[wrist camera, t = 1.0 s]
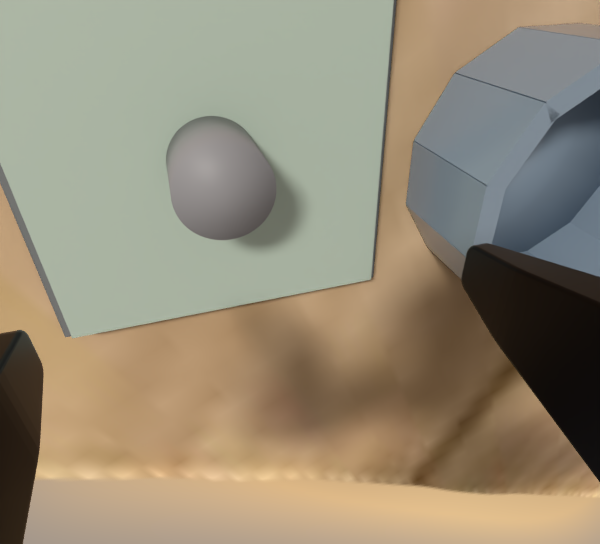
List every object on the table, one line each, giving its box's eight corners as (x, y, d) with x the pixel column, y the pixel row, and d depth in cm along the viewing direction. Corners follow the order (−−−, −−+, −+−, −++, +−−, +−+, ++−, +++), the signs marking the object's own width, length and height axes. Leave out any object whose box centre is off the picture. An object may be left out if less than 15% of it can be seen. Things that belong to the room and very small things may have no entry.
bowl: (658, 18, 19) (794, 30, 15) (574, 241, 25) (656, 292, 21) (426, 33, 17) (516, 52, 13) (397, 276, 23) (451, 341, 19)
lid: (388, -69, 14) (450, -78, 11) (364, 270, 22) (398, 316, 19) (-82, -64, 11) (-156, -77, 9) (74, 325, 19) (62, 389, 16)
